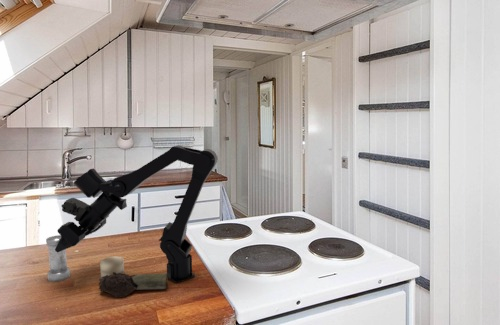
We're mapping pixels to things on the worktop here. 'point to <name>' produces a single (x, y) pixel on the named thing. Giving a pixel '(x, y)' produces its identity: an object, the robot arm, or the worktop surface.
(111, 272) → the fitting stand
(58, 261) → the metal knob
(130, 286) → the brown and green club
